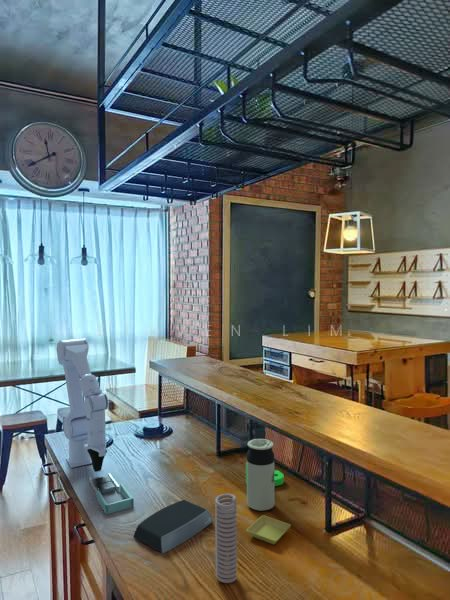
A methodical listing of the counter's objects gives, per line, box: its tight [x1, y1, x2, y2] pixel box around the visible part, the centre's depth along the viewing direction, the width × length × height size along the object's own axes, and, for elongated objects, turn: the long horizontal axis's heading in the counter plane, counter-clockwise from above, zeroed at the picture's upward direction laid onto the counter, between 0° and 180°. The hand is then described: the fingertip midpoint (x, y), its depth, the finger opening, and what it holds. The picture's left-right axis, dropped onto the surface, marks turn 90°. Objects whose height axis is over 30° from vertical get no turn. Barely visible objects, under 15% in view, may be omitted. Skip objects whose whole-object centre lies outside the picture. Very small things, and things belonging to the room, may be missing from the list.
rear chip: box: [94, 475, 111, 488], centre depth 138 cm, size 4×4×2 cm
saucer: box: [246, 514, 292, 545], centre depth 111 cm, size 9×9×2 cm
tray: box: [95, 483, 135, 515], centre depth 127 cm, size 11×8×2 cm
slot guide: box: [88, 472, 120, 493], centre depth 137 cm, size 11×7×2 cm, turn 30°
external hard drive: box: [133, 499, 214, 554], centre depth 113 cm, size 12×18×4 cm
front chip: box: [99, 482, 116, 496], centre depth 134 cm, size 4×4×2 cm
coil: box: [214, 493, 238, 584], centre depth 94 cm, size 5×5×18 cm
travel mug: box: [246, 438, 275, 512], centre depth 125 cm, size 8×8×18 cm
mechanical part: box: [244, 462, 285, 487], centre depth 139 cm, size 12×6×8 cm, turn 115°
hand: (97, 470), depth 144 cm, fingers closed
